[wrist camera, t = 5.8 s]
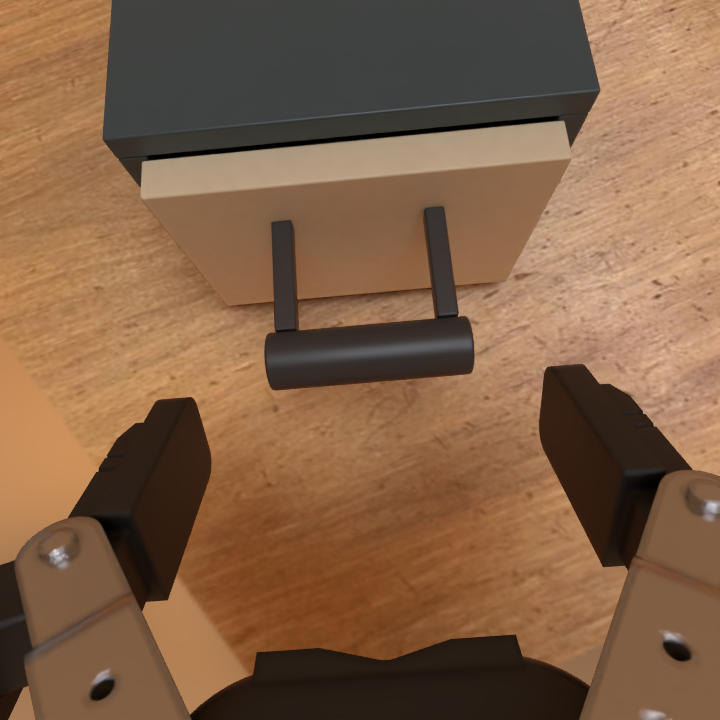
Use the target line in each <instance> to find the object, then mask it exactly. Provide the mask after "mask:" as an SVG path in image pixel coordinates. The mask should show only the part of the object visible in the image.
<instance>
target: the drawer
mask: <svg viewBox="0 0 720 720" xmlns="http://www.w3.org/2000/svg"><path fill="white" fill-rule="evenodd" d="M515 122H516V120H509V121H499V122H489V123H478V124H468V125H458V126H448V127H437V128H427V129H417V130H406V131H396V132H386V133H375V134H365V135H355V136H345V137H334V138H324V139H314V140H303V141H293V142H283V143H273V144H262V145H252V146H242V147H231V148H221V149H211V150H200V151H190V152H189V154H190V156H191V157H181V158H170V159H160V160H150V161H143V162H142V171H141V194H140V198H141V200H142V201H143V203H144V204H145V205H146V206H147V207H148V209H149V210H150V211H151V212H152V214H153V215H154V216H155V217H156V219H157V220H158V221H159V222H160V224H161V225H162V226H163V227H164V229H165V230H166V231H167V232H168V233H169V235H170V236H171V237H172V238H173V240H174V241H175V242H176V243H177V245H178V246H179V247H180V248H181V250H182V251H183V252H184V253H185V255H186V256H187V257H188V258H189V259H190V261H191V262H192V263H193V264H194V266H195V267H196V268H197V269H198V271H199V272H200V273H201V274H202V276H203V277H204V278H205V279H206V280H207V282H208V283H209V284H210V285H211V287H212V288H213V289H214V290H215V292H216V293H217V294H218V295H219V297H220V298H221V299H222V300H223V302H224V303H225V304H226V305H227V306H230V305H241V304H252V303H263V302H274V322H275V331H276V333H269V334H268V335H267V336H266V340H265V351H264V353H265V367H266V374H267V378H268V382H269V385H270V387H271V389H272V390H287V389H299V388H311V387H323V386H335V385H346V384H358V383H370V382H382V381H394V380H406V379H418V378H429V377H441V376H453V375H465V374H470V373H472V371H473V367H474V340H473V333H472V328H471V325H470V322H469V320H468V318H467V317H465V316H460V317H457V316H458V313H459V312H458V304H457V297H456V290H455V285H466V284H477V283H488V282H499V281H506V279H507V278H508V276H509V274H510V272H511V270H512V268H513V266H514V265H515V263H516V261H517V259H518V257H519V255H520V254H521V252H522V250H523V248H524V246H525V244H526V242H527V241H528V239H529V237H530V235H531V233H532V231H533V229H534V228H535V226H536V224H537V222H538V220H539V218H540V216H541V215H542V213H543V211H544V209H545V207H546V205H547V203H548V202H549V200H550V198H551V196H552V194H553V192H554V191H555V189H556V187H557V185H558V183H559V181H560V179H561V178H562V176H563V174H564V172H565V170H566V168H567V166H568V165H569V163H570V161H571V159H572V154H571V149H570V145H569V140H568V135H567V131H566V126H565V122H564V121H552V122H542V123H532V124H521V125H514V124H515ZM421 288H431V289H432V297H433V305H434V313H435V319H425V320H414V321H402V322H391V323H379V324H368V325H357V326H345V327H334V328H322V329H311V330H299V320H298V299H308V298H320V297H331V296H342V295H353V294H365V293H376V292H387V291H398V290H409V289H421Z"/></svg>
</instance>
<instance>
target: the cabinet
mask: <svg viewBox="0 0 720 720" xmlns="http://www.w3.org/2000/svg"><path fill="white" fill-rule="evenodd" d="M599 92H600V87H599V82H598V78H597V74H596V70H595V66H594V62H593V58H592V54H591V49H590V45H589V41H588V37H587V33H586V29H585V25H584V21H583V16H582V12H581V8H580V4H579V0H112V9H111V23H110V38H109V52H108V67H107V82H106V96H105V111H104V125H103V141H104V142H105V143H106V145H107V146H108V147H109V148H110V150H111V151H112V152H113V154H114V155H115V156H116V157H117V158H119V161H120V162H121V163H122V165H123V166H124V167H125V169H126V170H127V171H128V172H129V174H130V175H131V176H132V178H133V179H134V180H135V181H136V183H137V184H138V185H139V187H140V188H141V171H142V162H143V161H150V160H160V159H170V158H181V157H191V156H190V154H189V152H190V151H200V150H211V149H221V148H231V147H242V146H252V145H262V144H273V143H283V142H293V141H303V140H314V139H324V138H334V137H345V136H355V135H365V134H375V133H386V132H396V131H406V130H417V129H427V128H437V127H448V126H458V125H468V124H478V123H489V122H499V121H509V120H516V122H515V124H514V125H521V124H532V123H542V122H552V121H564V122H565V126H566V131H567V135H568V140H569V145H570V148H571V146H572V144H573V142H574V140H575V138H576V137H577V135H578V133H579V131H580V129H581V127H582V125H583V123H584V121H585V119H586V117H587V115H588V112H590V110H591V108H592V106H593V104H594V102H595V100H596V98H597V96H598V94H599Z"/></svg>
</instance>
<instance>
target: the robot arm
mask: <svg viewBox="0 0 720 720" xmlns="http://www.w3.org/2000/svg"><path fill="white" fill-rule="evenodd" d="M539 433H540V439H541V443H542V447H543V449H544V451H545V453H546V455H547V457H548V459H549V461H550V463H551V465H552V467H553V469H554V471H555V473H556V475H557V477H558V479H559V481H560V483H561V485H562V487H563V489H564V491H565V493H566V495H567V497H568V499H569V501H570V503H571V505H572V507H573V509H574V511H575V513H576V515H577V517H578V518H579V520H580V522H581V524H582V526H583V528H584V530H585V532H586V534H587V536H588V538H589V540H590V542H591V544H592V546H593V548H594V550H595V552H596V554H597V556H598V558H599V560H600V562H601V564H602V566H603V567H612V566H626V568H627V570H628V574H627V577H626V580H625V583H624V586H623V589H622V592H621V595H620V598H619V601H618V604H617V607H616V610H615V613H614V616H613V619H612V622H611V625H610V628H609V631H608V634H607V637H606V640H605V643H604V646H603V649H602V652H601V655H600V659H599V662H598V664H597V667H596V671H595V674H594V677H593V680H592V683H591V686H589V685H588V684H586V683H585V682H583V681H582V680H580V679H578V678H577V677H575V676H573V675H571V674H570V673H568V672H566V671H564V670H562V669H560V668H557V667H555V666H553V665H550V664H548V663H545V662H542V661H539V660H535V659H532V658H527V657H523V656H522V654H521V651H520V647H519V644H518V640H517V637H516V635H503V636H489V637H474V638H460V639H450V640H447V641H444V642H442V643H439V644H436V645H433V646H430V647H427V648H424V649H421V650H418V651H415V652H412V653H409V654H406V655H403V656H401V657H398V658H395V659H391V660H377V659H372V658H367V657H362V656H357V655H352V654H347V653H342V652H337V651H332V650H327V649H322V648H314V649H300V650H285V651H271V652H257V654H256V661H255V667H254V673H253V675H251V676H249V677H246V678H244V679H241V680H239V681H237V682H235V683H233V684H231V685H229V686H227V687H226V688H224V689H222V690H221V691H219V692H218V693H216V694H214V695H213V696H212V697H211V698H209V699H208V700H207V701H205V702H204V703H203V704H201V705H200V706H199V707H198V708H197V709H196V710H195V711H194V712H193V713H191V714H190V715H189V712H188V710H187V708H186V706H185V704H184V702H183V700H182V697H181V695H180V693H179V691H178V689H177V687H176V685H175V682H174V680H173V678H172V676H171V674H170V672H169V669H168V667H167V665H166V663H165V661H164V659H163V656H162V654H161V652H160V650H159V648H158V646H157V644H156V641H155V639H154V637H153V635H152V633H151V631H150V628H149V626H148V624H147V622H146V620H145V618H144V616H143V613H142V610H143V608H144V605H145V603H146V602H150V601H163V600H168V598H169V595H170V592H171V589H172V586H173V583H174V580H175V577H176V574H177V572H178V569H179V566H180V563H181V560H182V557H183V554H184V551H185V548H186V545H187V542H188V539H189V536H190V533H191V531H192V528H193V525H194V522H195V519H196V516H197V513H198V510H199V507H200V504H201V501H202V498H203V495H204V492H205V490H206V487H207V484H208V481H209V478H210V474H211V453H210V449H209V445H208V442H207V438H206V435H205V431H204V428H203V425H202V421H201V418H200V414H199V411H198V407H197V404H196V402H195V400H194V399H193V398H192V397H186V398H174V399H162V400H157V401H156V402H155V404H154V405H153V407H152V409H151V411H150V412H149V414H148V416H147V417H146V419H145V421H144V423H135V424H134V425H133V426H132V427H130V428H129V429H128V430H127V431H126V432H125V433H123V434H122V435H121V436H120V437H119V438H117V440H116V442H115V443H114V445H113V446H112V448H111V450H110V451H109V453H108V454H107V458H105V459H104V461H103V462H102V464H101V466H100V467H99V472H96V474H95V475H94V477H93V478H92V480H91V482H90V483H89V485H88V487H87V488H86V490H85V491H84V493H83V494H82V496H81V497H80V499H79V501H78V502H77V504H76V505H75V507H74V509H73V510H72V512H71V514H70V515H69V517H68V518H67V519H64V520H61V521H58V522H56V523H54V524H51V525H50V526H48V527H46V528H44V529H43V530H41V531H40V532H38V533H37V534H35V535H34V536H33V537H32V538H31V539H30V540H29V541H28V542H26V544H25V545H24V546H23V547H22V548H21V550H20V552H19V553H18V555H17V558H16V559H15V560H14V561H11V562H9V563H6V564H3V565H0V720H8V719H9V717H10V715H11V712H12V710H13V708H14V706H15V704H16V702H17V700H18V698H19V695H20V693H21V691H22V689H23V688H24V687H26V686H29V690H30V694H31V699H32V705H33V709H34V714H35V719H36V720H720V476H717V475H714V474H711V473H707V472H702V471H696V470H693V469H692V468H691V467H690V466H689V465H688V463H687V462H686V461H685V460H684V459H683V458H682V456H681V455H680V454H679V453H678V452H677V451H676V449H675V448H674V447H673V446H672V445H671V444H670V442H669V441H668V440H667V439H666V438H665V437H664V435H663V434H662V433H661V432H660V431H659V429H658V428H657V427H654V426H653V422H652V421H651V420H650V419H649V418H648V417H647V415H646V414H643V411H642V410H641V408H640V407H639V406H638V405H637V404H636V403H635V401H634V400H633V399H632V398H631V397H630V396H629V395H627V394H626V393H624V392H622V391H621V390H619V389H617V388H616V387H614V386H612V385H611V384H599V383H598V382H597V380H596V379H595V378H594V376H593V375H592V374H591V373H590V371H589V370H588V369H587V368H586V366H585V365H583V364H574V365H562V366H550V367H547V368H546V370H545V373H544V380H543V390H542V400H541V409H540V419H539Z"/></svg>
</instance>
